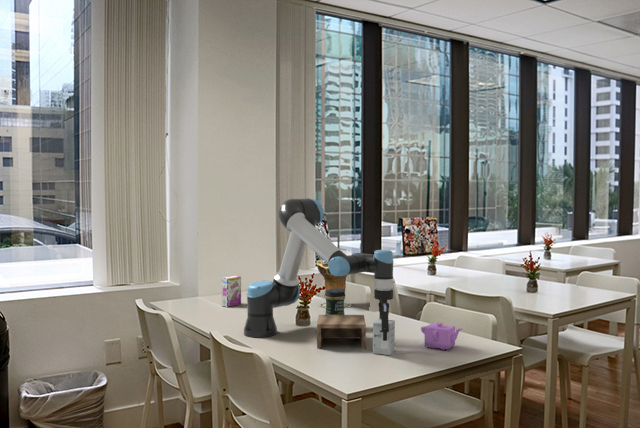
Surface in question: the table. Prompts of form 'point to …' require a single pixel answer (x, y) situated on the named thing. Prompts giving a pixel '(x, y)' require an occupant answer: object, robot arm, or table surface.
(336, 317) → the walnut shelf
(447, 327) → the teapot
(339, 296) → the coffee jar
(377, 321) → the supplement box
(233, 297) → the candy bar box
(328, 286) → the decorative vase
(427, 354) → the table surface
